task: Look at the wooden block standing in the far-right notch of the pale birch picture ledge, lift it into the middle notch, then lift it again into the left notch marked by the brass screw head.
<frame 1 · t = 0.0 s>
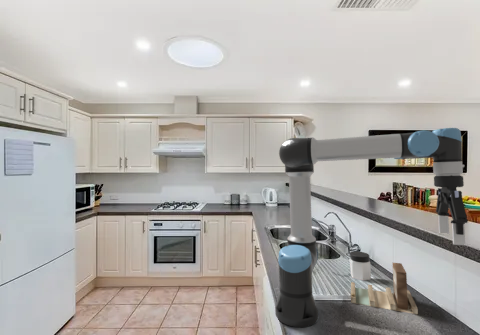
hand: (451, 239, 82), 28 cm above the countertop, tool pointing down, fingers open, 13 cm apart
jar: (360, 280, 117), on the countertop
wooden block: (400, 302, 93), point 1 cm above the countertop, touching ledge
ledge: (380, 302, 96), on the countertop
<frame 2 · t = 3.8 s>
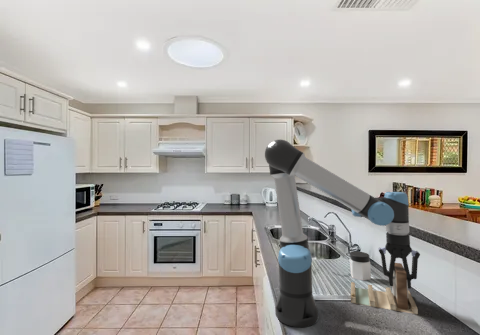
hand: (400, 295, 93), 4 cm above the countertop, tool pointing down, fingers closed on wooden block, 3 cm apart
wooden block: (400, 302, 93), point 1 cm above the countertop, touching gripper, ledge
everything else where it was.
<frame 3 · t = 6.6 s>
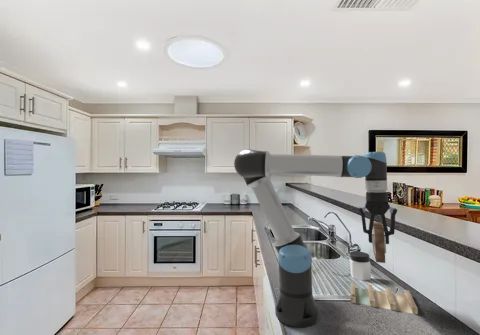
hand: (379, 251, 96), 20 cm above the countertop, tool pointing down, fingers closed on wooden block, 3 cm apart
wooden block: (379, 258, 96), point 17 cm above the countertop, touching gripper
everything else where it was.
when the fingers open (5 cm above the countertop, at t = 9.3 s): wooden block stays where it is, resting on ledge.
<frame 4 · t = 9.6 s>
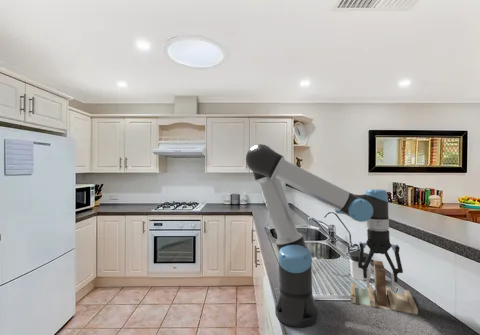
hand: (380, 288, 96), 6 cm above the countertop, tool pointing down, fingers open, 8 cm apart
wooden block: (380, 299, 96), point 2 cm above the countertop, touching ledge
everything else where it was.
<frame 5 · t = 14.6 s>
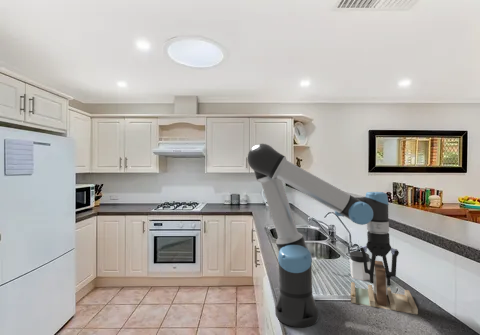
hand: (380, 292, 96), 4 cm above the countertop, tool pointing down, fingers closed on wooden block, 3 cm apart
wooden block: (380, 299, 96), point 2 cm above the countertop, touching gripper, ledge
everything else where it was.
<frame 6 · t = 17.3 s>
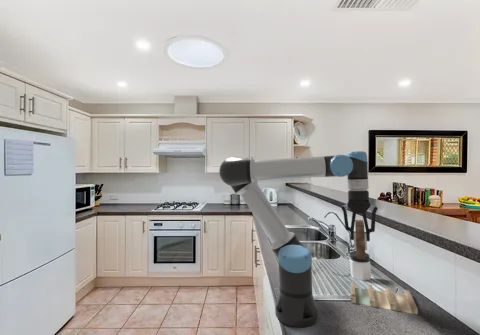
hand: (360, 248, 99), 20 cm above the countertop, tool pointing down, fingers closed on wooden block, 3 cm apart
wooden block: (360, 254, 99), point 18 cm above the countertop, touching gripper
everything else where it was.
when the fingers open (5 cm above the countertop, at t = 20.1 s): wooden block stays where it is, resting on ledge.
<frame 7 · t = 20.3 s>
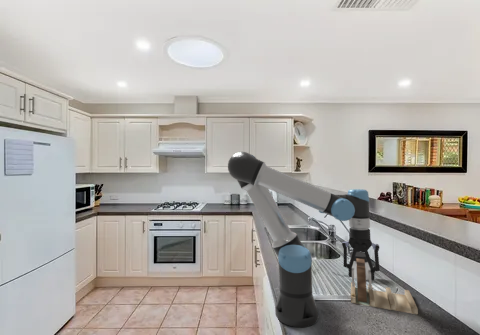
hand: (361, 286, 99), 5 cm above the countertop, tool pointing down, fingers open, 5 cm apart
wooden block: (361, 295, 99), point 2 cm above the countertop, touching ledge
everything else where it was.
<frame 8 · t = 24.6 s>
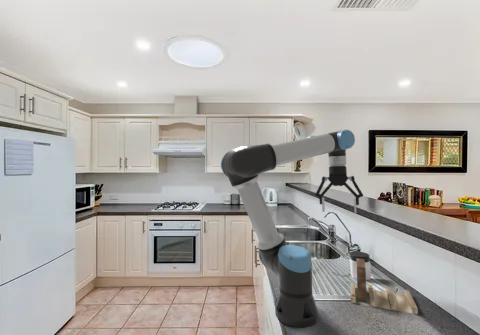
hand: (339, 212, 114), 33 cm above the countertop, tool pointing down, fingers open, 13 cm apart
nothing on the countertop moved.
at the end: wooden block 0.1 cm from the target spot on the ledge, point 1.6 cm above the ledge's base; wooden block tilted 0°; the gripper is holding nothing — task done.
